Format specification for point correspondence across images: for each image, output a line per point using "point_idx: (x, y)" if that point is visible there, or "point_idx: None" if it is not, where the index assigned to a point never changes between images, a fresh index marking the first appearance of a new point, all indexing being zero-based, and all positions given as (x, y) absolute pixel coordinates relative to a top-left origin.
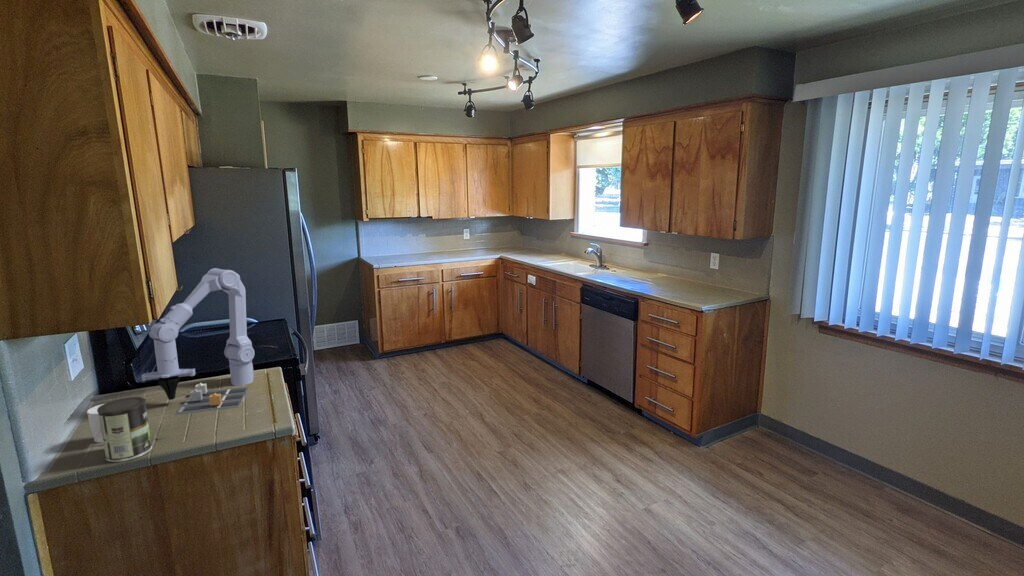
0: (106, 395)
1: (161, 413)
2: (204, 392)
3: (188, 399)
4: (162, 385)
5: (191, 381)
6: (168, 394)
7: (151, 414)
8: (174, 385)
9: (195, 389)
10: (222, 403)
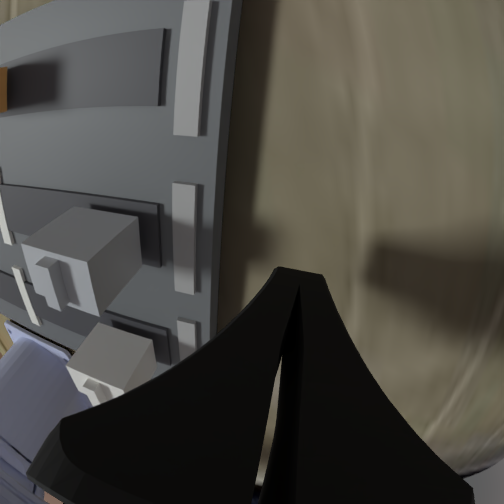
0: (494, 460)
1: (384, 160)
2: (99, 330)
3: (194, 308)
4: (397, 452)
5: (256, 478)
6: (315, 307)
7: (452, 183)
8: (150, 384)
9: (55, 300)
10: None
